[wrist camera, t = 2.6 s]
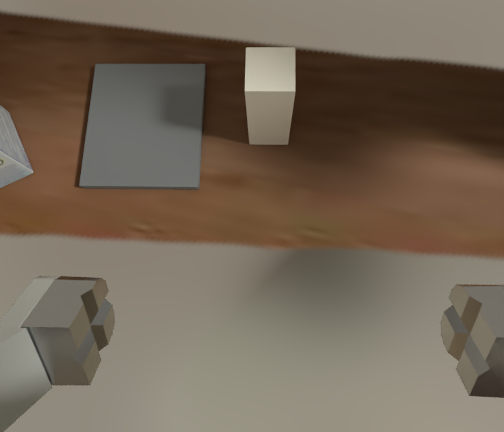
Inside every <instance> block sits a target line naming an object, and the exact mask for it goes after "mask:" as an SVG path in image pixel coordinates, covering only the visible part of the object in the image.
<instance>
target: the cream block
mask: <svg viewBox="0 0 504 432" xmlns="http://www.w3.org/2000/svg"><path fill="white" fill-rule="evenodd" d="M294 98H295V47H246V64H245V100H246V112H247V123H248V134H249V144H253V145H288V140H289V133H290V126H291V119H292V112H293V105H294Z"/></svg>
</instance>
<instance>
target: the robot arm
mask: <svg viewBox="0 0 504 432" xmlns="http://www.w3.org/2000/svg"><path fill="white" fill-rule="evenodd" d="M107 293H108V287H107V284H106V281H105V280H104V279H102V278H89V277H66V276H61V277H55V276H39V277H37V278H34V279H33V280H32V282H31V283H30V284H29V285H28V287H27V288H26V289H25V290H24V292H23V293H22V294H21V296H20V297H19V298H18V299H17V300H16V302H15V303H14V304H13V305H12V307H11V308H10V309H9V310H8V312H7V313H6V314H5V315H4V317H3V318H2V319H1V320H0V432H4V431H5V430H6V429H7V428H8V427H9V426H10V425H11V424H13V423H14V422H15V421H16V420H17V419H18V418H19V417H20V416H21V415H22V414H24V413H25V412H26V411H27V410H28V409H29V408H30V407H31V406H32V405H34V404H35V403H36V402H37V401H38V400H39V399H40V398H41V397H42V396H43V395H45V394H46V393H47V392H48V391H49V390H50V389H51V388H52V385H90V384H91V382H92V379H93V377H94V375H95V373H96V371H97V368H98V366H99V364H100V361H101V358H100V354H99V351H100V350H101V349H103V348H104V347H105V346H107V345H108V344H109V341H110V339H111V336H112V334H113V329H114V322H115V318H114V310H113V306H112V304H111V303H110V302H108V301H107V300H106V299H105V297H106V295H107ZM449 299H450V300H451V302H452V304H453V305H452V306H451V307H449V308H448V309H447V310H445V311H444V313H443V316H442V320H441V336H442V340H443V343H444V345H445V347H446V350H447V352H448V353H449V354H450V355H452V356H453V357H454V358H456V359H457V360H458V361H459V362H458V365H457V368H456V370H457V372H458V374H459V376H460V378H461V380H462V382H463V384H464V386H465V388H466V390H467V392H468V394H469V396H480V397H499V398H504V285H455V286H454V287H453V288H452V290H451V293H450V296H449Z"/></svg>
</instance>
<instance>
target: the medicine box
mask: <svg viewBox="0 0 504 432" xmlns="http://www.w3.org/2000/svg"><path fill="white" fill-rule="evenodd" d="M32 173H33V170H32V167H31V165H30V163H29V160H28V158H27V155H26V153H25V150H24V148H23V145H22V143H21V140H20V138H19V136H18V133H17V131H16V128H15V126H14V123H13V121H12V119H11V116H10V113H9V112H8V111H7V110H5V109H4V108H3V107H2V106H0V188H1V187H3V186H6V185H8V184H10V183H13V182H15V181H17V180H19V179H21V178H24V177H26V176H28V175H30V174H32Z"/></svg>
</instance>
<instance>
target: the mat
mask: <svg viewBox="0 0 504 432" xmlns="http://www.w3.org/2000/svg"><path fill="white" fill-rule="evenodd" d="M205 77H206V66H205V64H96V65H95V72H94V80H93V87H92V94H91V102H90V109H89V116H88V124H87V131H86V139H85V146H84V153H83V161H82V168H81V175H80V183H79V186H80V187H82V188H105V189H191V190H199V181H200V164H201V147H202V129H203V112H204V94H205Z"/></svg>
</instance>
